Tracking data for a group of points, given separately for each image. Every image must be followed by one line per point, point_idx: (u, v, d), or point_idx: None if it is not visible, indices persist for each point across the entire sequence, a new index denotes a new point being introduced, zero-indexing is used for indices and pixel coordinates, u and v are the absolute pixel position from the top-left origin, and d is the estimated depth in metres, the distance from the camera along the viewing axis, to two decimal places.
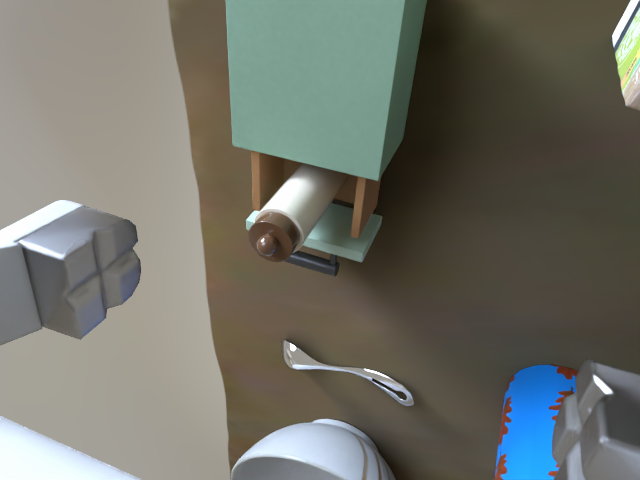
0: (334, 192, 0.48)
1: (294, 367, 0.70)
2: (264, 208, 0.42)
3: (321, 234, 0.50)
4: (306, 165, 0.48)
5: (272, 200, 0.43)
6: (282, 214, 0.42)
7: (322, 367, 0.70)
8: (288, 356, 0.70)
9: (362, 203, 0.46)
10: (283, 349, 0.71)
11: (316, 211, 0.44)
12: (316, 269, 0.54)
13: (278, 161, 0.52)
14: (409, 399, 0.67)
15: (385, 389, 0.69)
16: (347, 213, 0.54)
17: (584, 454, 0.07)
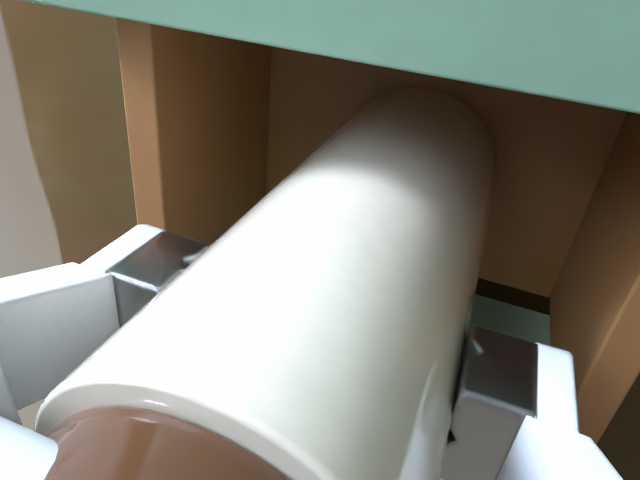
0: None
1: None
2: (89, 368, 0.05)
3: None
4: (365, 126, 0.11)
5: (173, 291, 0.06)
6: (232, 451, 0.04)
7: None
8: None
9: None
10: None
11: (456, 361, 0.07)
12: None
13: (251, 130, 0.15)
14: None
15: None
16: None
17: None
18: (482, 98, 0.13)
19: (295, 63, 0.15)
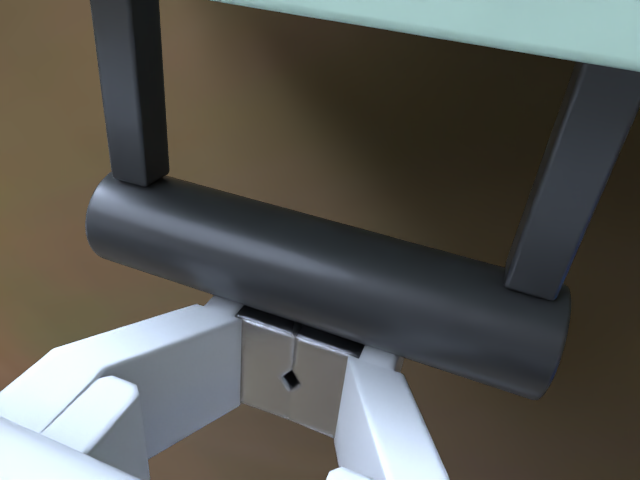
0: None
1: None
2: None
3: None
4: None
5: None
6: None
7: None
8: None
9: None
10: None
11: None
12: (376, 336, 0.06)
13: None
14: None
15: None
16: None
17: None
18: None
19: None
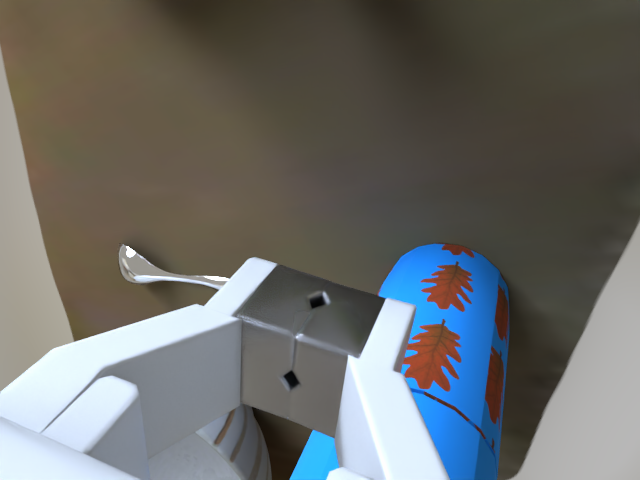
0: None
1: (130, 277, 0.54)
2: None
3: None
4: None
5: None
6: None
7: (165, 276, 0.54)
8: (121, 261, 0.54)
9: None
10: None
11: None
12: None
13: None
14: None
15: None
16: None
17: None
18: None
19: None
